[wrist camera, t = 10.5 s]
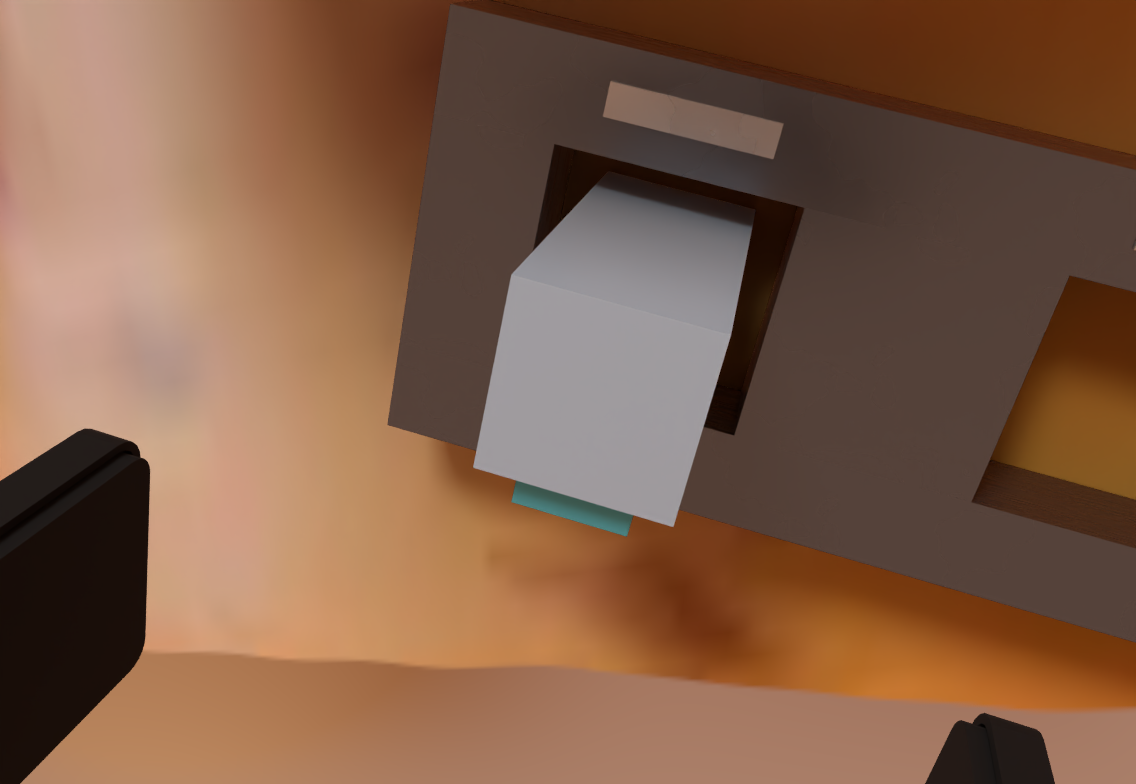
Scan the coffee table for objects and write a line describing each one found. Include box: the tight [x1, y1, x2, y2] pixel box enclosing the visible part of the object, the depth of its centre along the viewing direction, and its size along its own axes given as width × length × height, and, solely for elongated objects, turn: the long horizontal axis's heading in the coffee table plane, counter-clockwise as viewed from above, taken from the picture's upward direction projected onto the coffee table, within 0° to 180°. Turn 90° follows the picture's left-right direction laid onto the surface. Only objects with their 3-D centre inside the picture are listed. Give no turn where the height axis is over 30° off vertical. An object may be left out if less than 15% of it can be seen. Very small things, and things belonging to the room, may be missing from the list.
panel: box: [388, 0, 1136, 642], centre depth 26 cm, size 24×11×3 cm, turn 78°
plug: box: [473, 171, 756, 537], centre depth 24 cm, size 4×5×10 cm
